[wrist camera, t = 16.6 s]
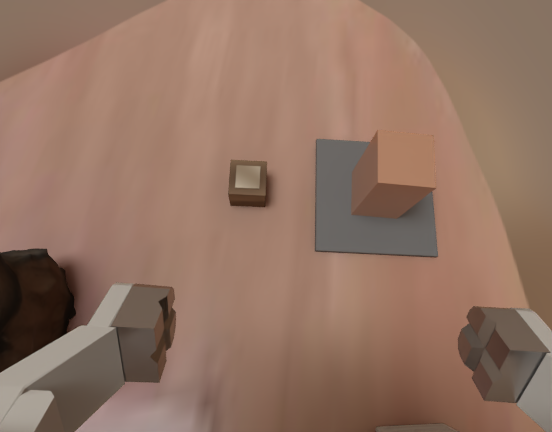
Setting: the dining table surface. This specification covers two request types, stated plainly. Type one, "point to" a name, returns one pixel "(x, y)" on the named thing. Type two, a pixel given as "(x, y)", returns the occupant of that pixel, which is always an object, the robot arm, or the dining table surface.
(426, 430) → the supplement box
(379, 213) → the tan rectangular pillar
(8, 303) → the dark brown rock
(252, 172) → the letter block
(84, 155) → the dining table surface
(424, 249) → the grey mat
